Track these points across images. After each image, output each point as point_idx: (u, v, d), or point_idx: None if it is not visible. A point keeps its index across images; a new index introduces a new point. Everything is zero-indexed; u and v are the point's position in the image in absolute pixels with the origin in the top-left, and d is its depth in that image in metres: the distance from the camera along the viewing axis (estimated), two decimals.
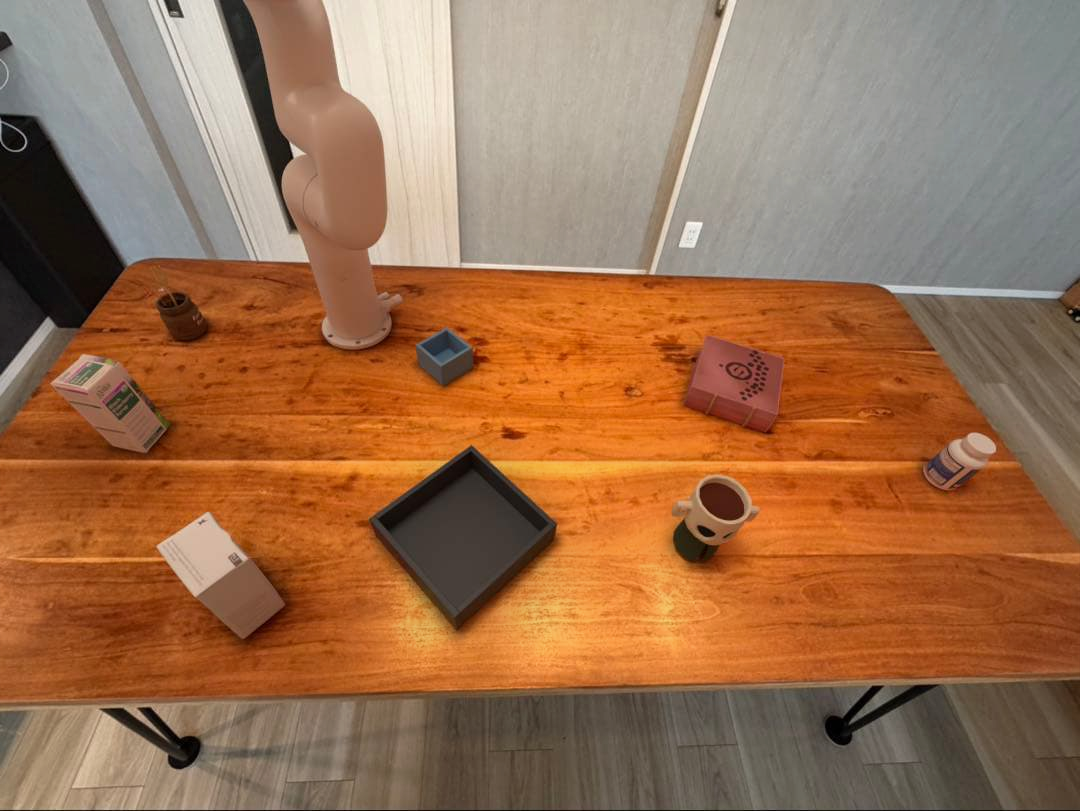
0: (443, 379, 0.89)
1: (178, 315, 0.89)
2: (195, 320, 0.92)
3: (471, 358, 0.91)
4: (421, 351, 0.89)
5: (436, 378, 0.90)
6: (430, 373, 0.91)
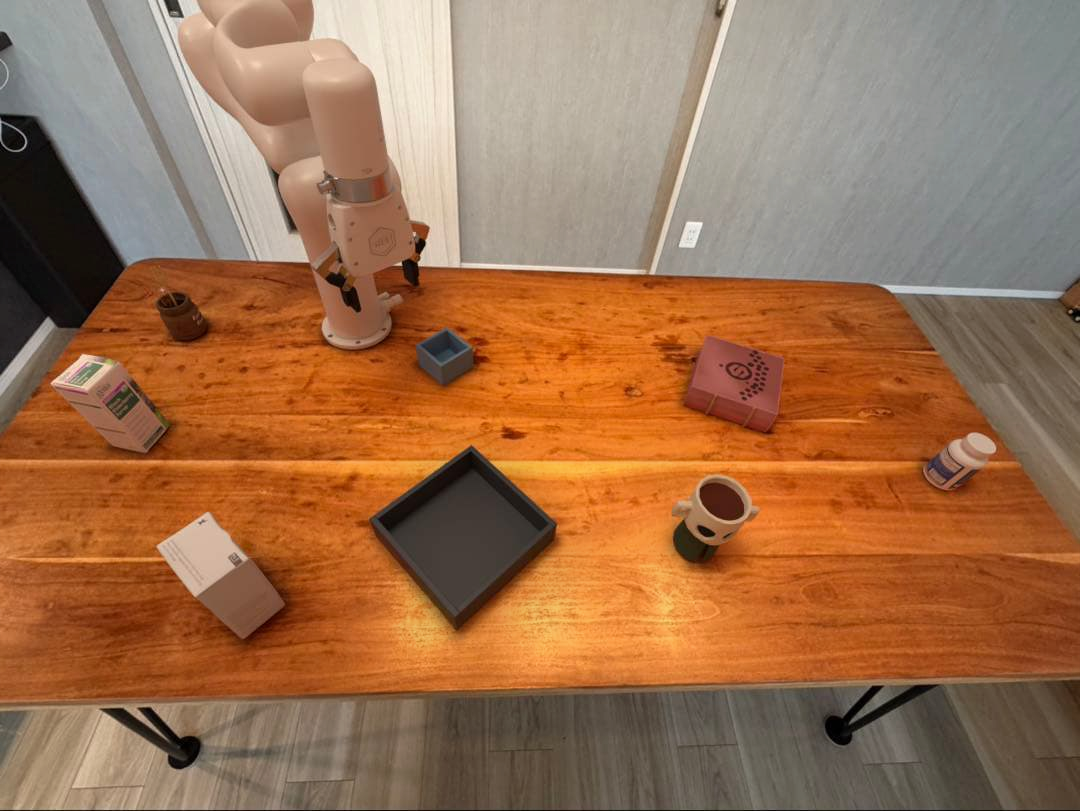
0: (443, 379, 0.89)
1: (178, 315, 0.89)
2: (195, 320, 0.92)
3: (471, 358, 0.91)
4: (421, 351, 0.89)
5: (436, 378, 0.90)
6: (430, 373, 0.91)
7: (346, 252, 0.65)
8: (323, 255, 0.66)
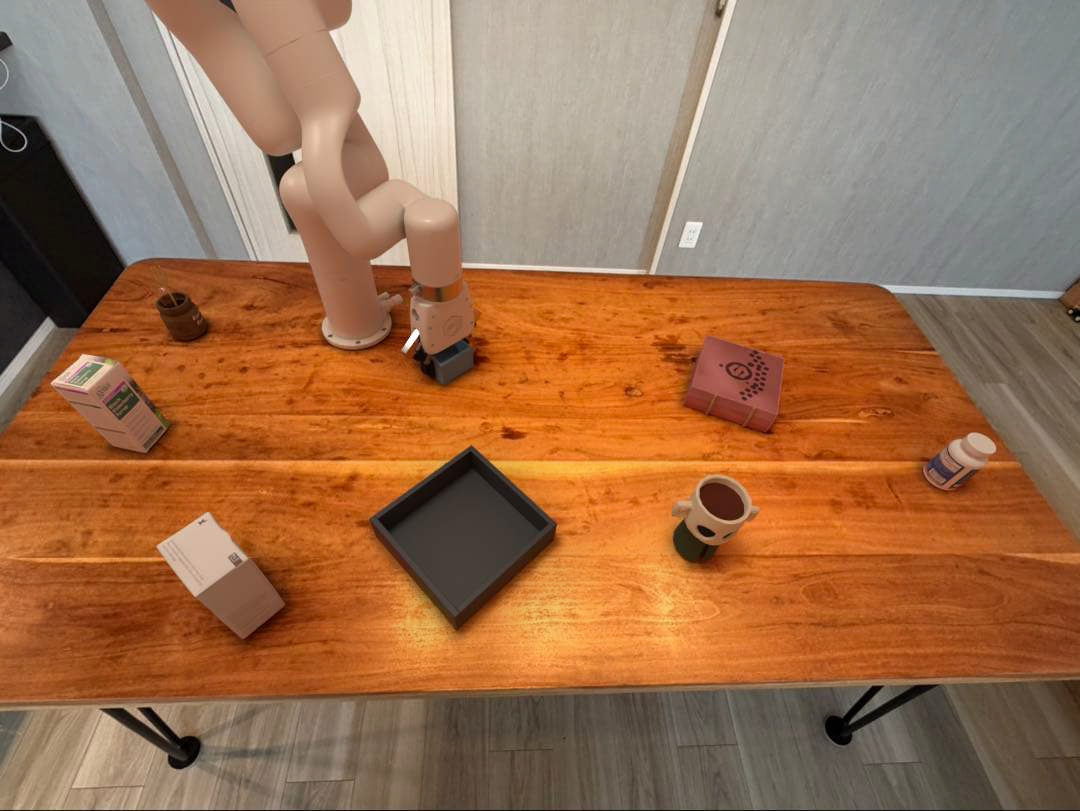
0: (443, 379, 0.89)
1: (178, 315, 0.89)
2: (195, 320, 0.92)
3: (471, 358, 0.91)
4: None
5: (436, 378, 0.90)
6: None
7: (426, 337, 0.81)
8: (408, 342, 0.82)
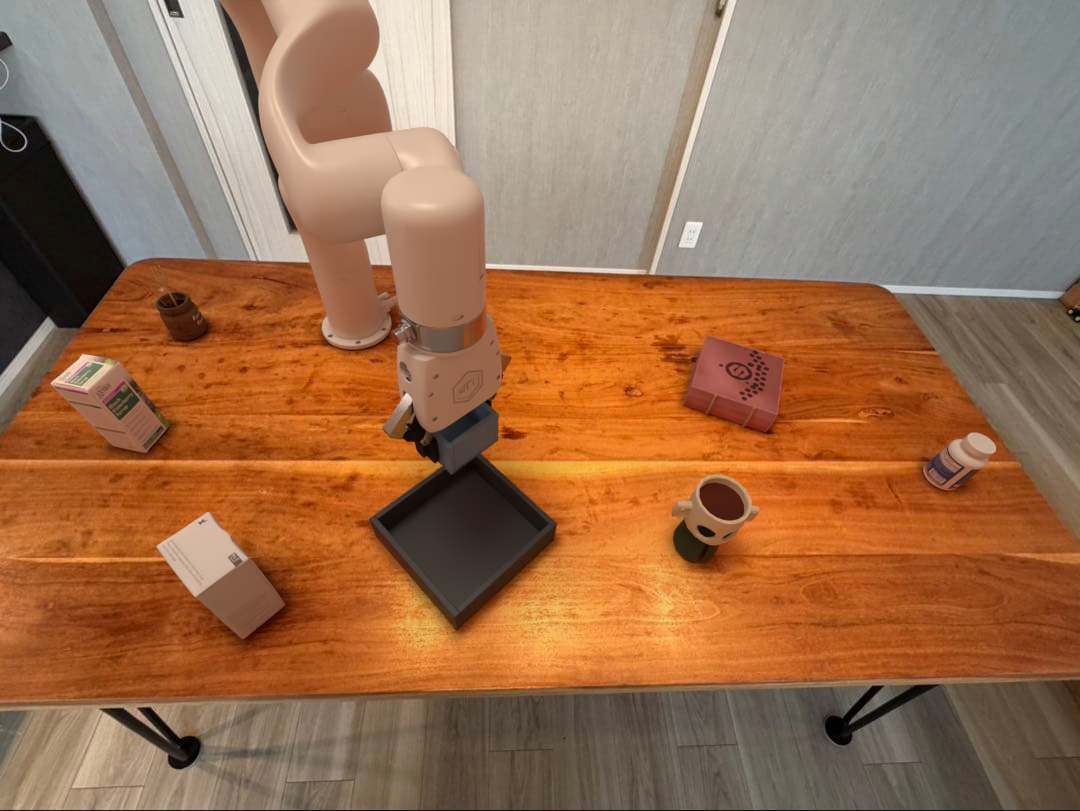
0: (452, 465, 0.56)
1: (178, 315, 0.89)
2: (195, 320, 0.92)
3: (496, 429, 0.58)
4: None
5: (441, 462, 0.57)
6: None
7: (424, 408, 0.48)
8: (395, 414, 0.49)
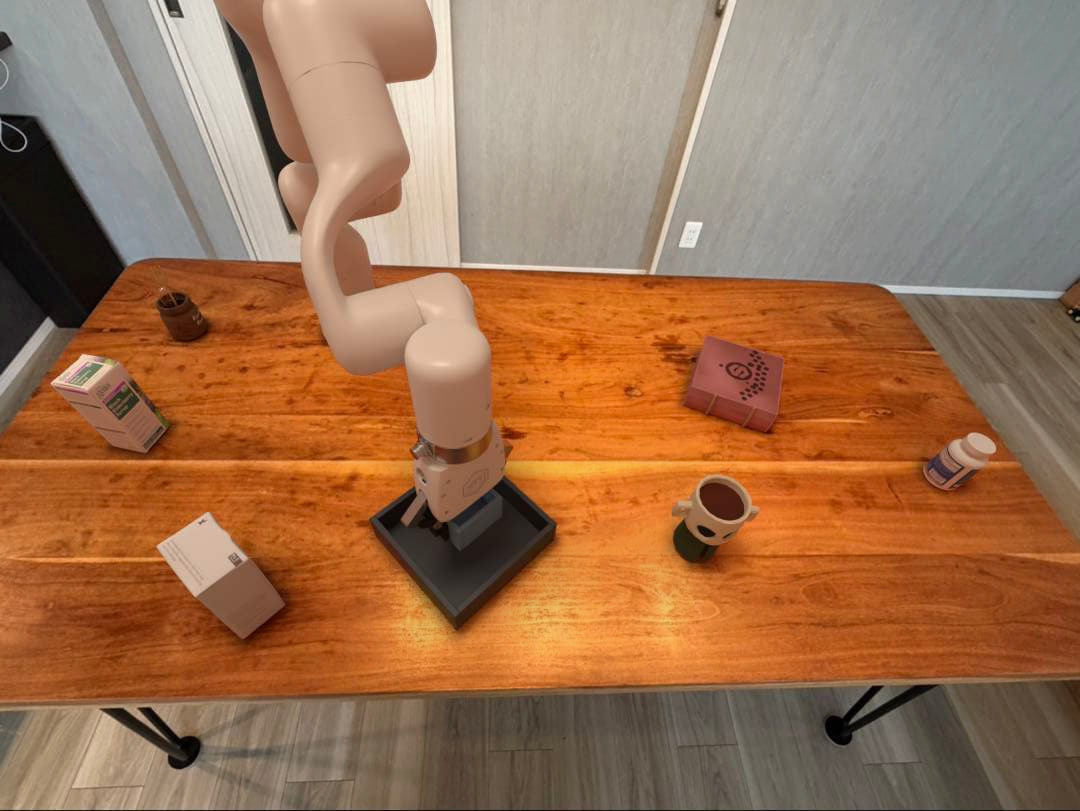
0: (461, 544, 0.63)
1: (178, 315, 0.89)
2: (195, 320, 0.92)
3: (499, 509, 0.65)
4: None
5: (451, 539, 0.64)
6: None
7: (437, 505, 0.55)
8: (412, 508, 0.56)
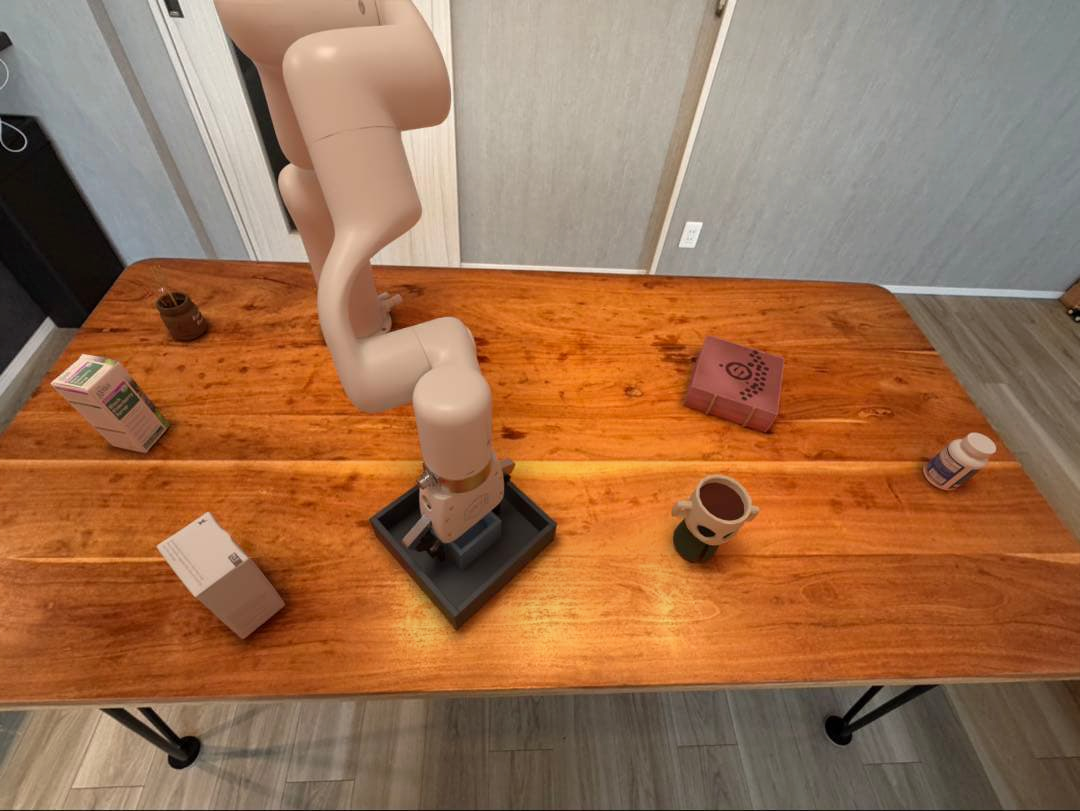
0: (463, 565, 0.67)
1: (178, 315, 0.89)
2: (195, 320, 0.92)
3: (499, 531, 0.70)
4: None
5: (453, 560, 0.69)
6: (445, 551, 0.69)
7: (441, 529, 0.59)
8: (414, 529, 0.60)
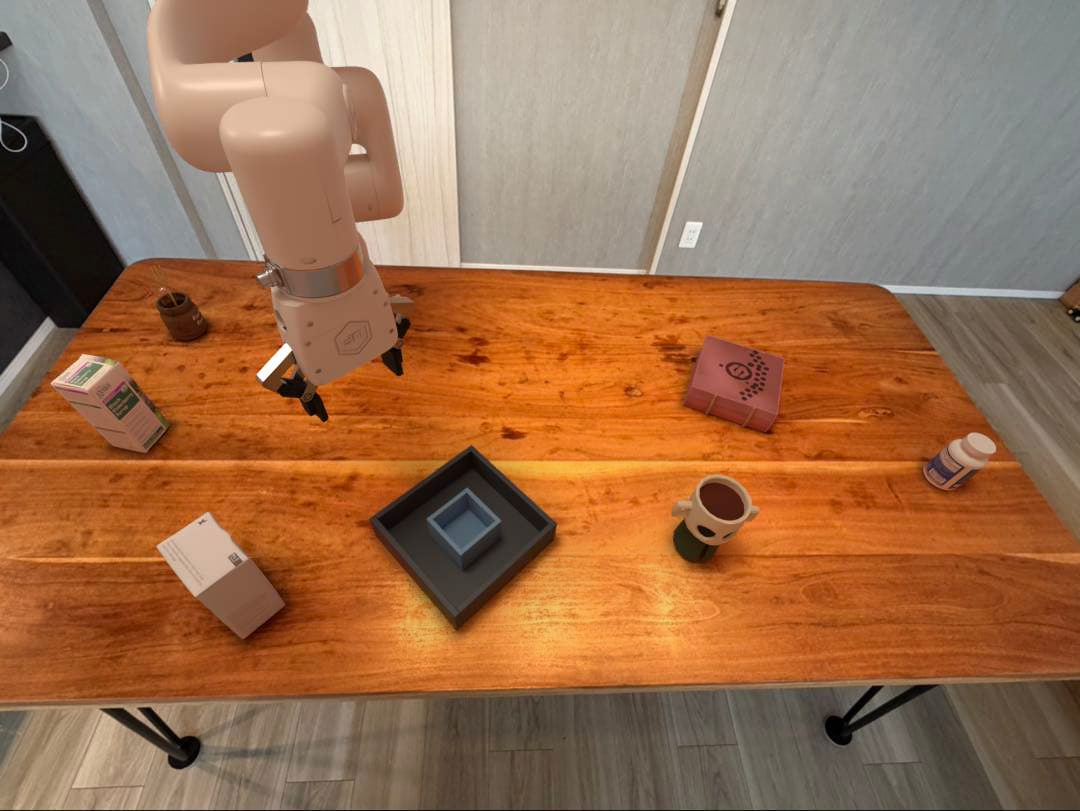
0: (463, 565, 0.67)
1: (178, 315, 0.89)
2: (195, 320, 0.92)
3: (499, 531, 0.70)
4: (434, 528, 0.67)
5: (453, 560, 0.69)
6: (445, 551, 0.69)
7: (304, 359, 0.47)
8: (271, 362, 0.47)
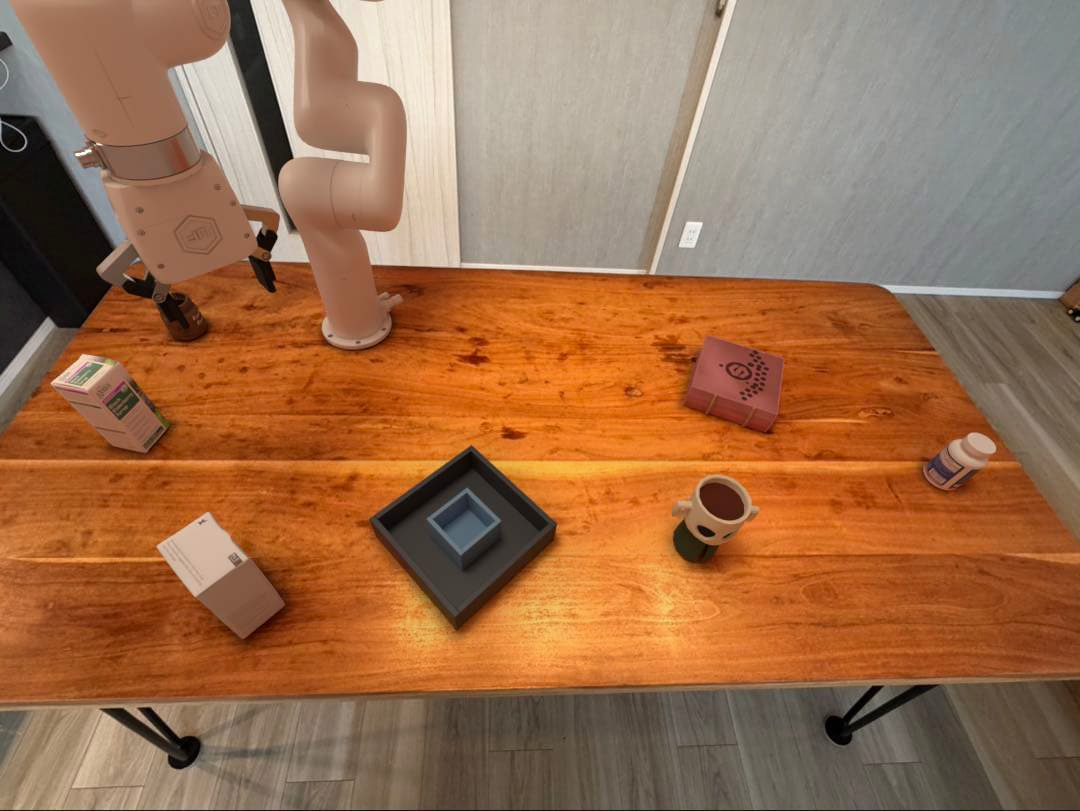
0: (463, 565, 0.67)
1: None
2: (195, 320, 0.92)
3: (499, 531, 0.70)
4: (434, 528, 0.67)
5: (453, 560, 0.69)
6: (445, 551, 0.69)
7: (141, 250, 0.47)
8: (112, 255, 0.48)
